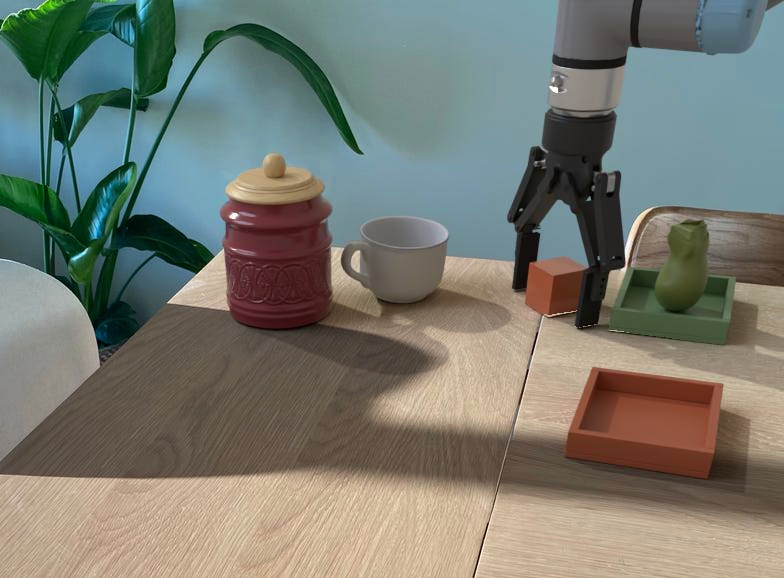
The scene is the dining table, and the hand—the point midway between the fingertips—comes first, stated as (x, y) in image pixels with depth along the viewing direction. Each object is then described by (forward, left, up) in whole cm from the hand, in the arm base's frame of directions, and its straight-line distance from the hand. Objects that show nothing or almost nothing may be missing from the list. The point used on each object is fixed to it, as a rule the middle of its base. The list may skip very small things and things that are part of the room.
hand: (553, 306), depth 117 cm
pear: (-8, -11, 0) cm, 14 cm away
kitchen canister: (+14, +30, 0) cm, 33 cm away
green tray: (-8, -11, 0) cm, 14 cm away
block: (0, 0, 0) cm, 0 cm away
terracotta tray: (-30, +10, 0) cm, 32 cm away
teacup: (+12, +16, 0) cm, 20 cm away
